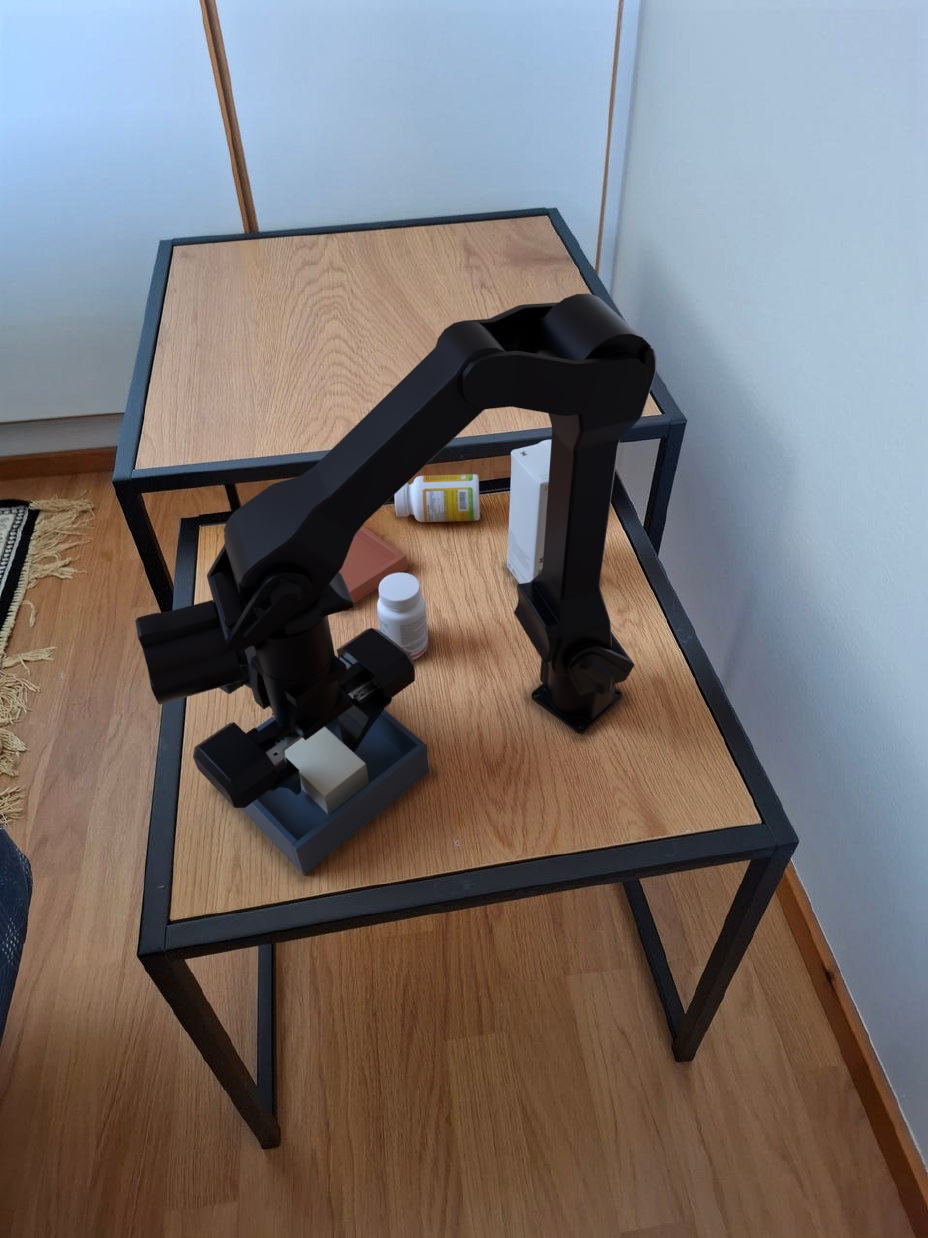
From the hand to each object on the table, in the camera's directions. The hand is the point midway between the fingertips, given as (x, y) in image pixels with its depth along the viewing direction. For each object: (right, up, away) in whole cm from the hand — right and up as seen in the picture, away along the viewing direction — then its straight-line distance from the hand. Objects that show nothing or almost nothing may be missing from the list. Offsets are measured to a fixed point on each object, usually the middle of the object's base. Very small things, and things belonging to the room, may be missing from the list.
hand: (323, 769), depth 77 cm
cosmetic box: (+22, +18, +20) cm, 35 cm away
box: (0, -1, +1) cm, 2 cm away
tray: (-1, +19, +21) cm, 29 cm away
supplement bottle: (+14, +28, +24) cm, 40 cm away
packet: (0, -1, +1) cm, 1 cm away
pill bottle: (+6, +10, +12) cm, 18 cm away
